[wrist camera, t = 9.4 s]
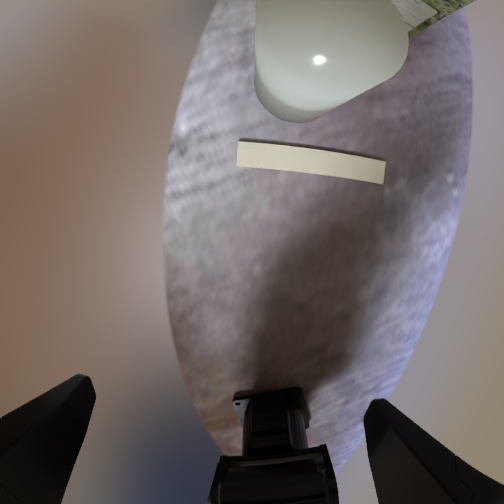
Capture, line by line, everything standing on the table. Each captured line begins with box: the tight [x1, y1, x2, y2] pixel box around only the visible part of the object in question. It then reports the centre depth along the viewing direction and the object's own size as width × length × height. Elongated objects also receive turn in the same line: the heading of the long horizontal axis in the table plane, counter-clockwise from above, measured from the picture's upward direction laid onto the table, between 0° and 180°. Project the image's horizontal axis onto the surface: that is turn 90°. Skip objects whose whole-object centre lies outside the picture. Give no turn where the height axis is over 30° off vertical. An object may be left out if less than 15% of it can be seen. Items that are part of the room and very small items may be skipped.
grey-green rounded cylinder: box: [254, 0, 409, 123], centre depth 11 cm, size 5×5×10 cm
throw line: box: [237, 141, 386, 184], centre depth 18 cm, size 10×2×1 cm, turn 85°
